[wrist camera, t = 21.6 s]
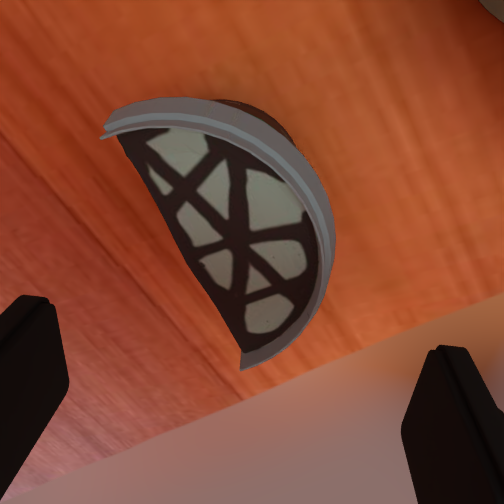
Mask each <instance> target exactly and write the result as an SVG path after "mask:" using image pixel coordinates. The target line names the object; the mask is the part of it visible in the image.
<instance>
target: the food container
mask: <svg viewBox="0 0 504 504" xmlns="http://www.w3.org/2000/svg"><path fill="white" fill-rule="evenodd" d="M103 127H104V128H105V130H106V131H107V132H106V133H105V134H104V135H102V136H101V137H100V139H101V140H102V139H105V138H108V137H111V136H114V135H116V136H117V138H118V140H119V142H120V144H121V145H122V147H123V149H124V151H125V154H126V156H127V157H128V158H129V159H130V161H131V162H132V163H133V165H134V166H135V168H136V169H137V171H138V173H139V174H140V176H141V178H142V179H143V181H144V183H145V185H146V186H147V188H148V190H149V192H150V193H151V195H152V197H153V199H154V201H155V202H156V204H157V206H158V208H159V210H160V212H161V214H162V216H163V218H164V219H165V221H166V223H167V225H168V227H169V230H170V232H171V234H172V236H173V238H174V240H175V242H176V244H177V246H178V248H179V250H180V251H181V253H182V255H183V257H184V259H185V261H186V263H187V265H188V266H189V268H190V269H191V271H192V272H193V274H194V275H195V277H196V278H197V280H198V281H199V282H200V284H201V285H202V287H203V288H204V289H205V291H206V292H207V294H208V295H209V297H210V298H211V300H212V301H213V303H214V304H215V306H216V307H217V309H218V311H219V312H220V314H221V316H222V317H223V319H224V321H225V323H226V324H227V326H228V328H229V329H230V331H231V333H232V335H233V336H234V338H235V340H236V341H237V343H238V345H239V347H240V348H241V360H240V371H243V370H246V369H249V368H252V367H255V366H257V365H259V364H261V363H263V362H265V361H267V360H269V359H271V358H273V357H274V356H276V355H277V354H279V353H280V352H282V351H283V350H284V349H286V348H287V347H288V346H289V345H290V344H291V343H292V342H293V341H294V340H295V339H296V338H297V337H298V336H299V335H300V334H301V333H302V332H303V330H304V329H305V327H306V326H307V325H308V323H309V322H310V321H311V319H312V318H313V316H314V315H315V314H316V312H317V310H318V308H319V306H320V304H321V302H322V300H323V298H324V295H325V292H326V288H327V285H328V281H329V277H330V273H331V270H332V266H333V262H334V256H335V243H336V235H335V225H334V217H333V213H332V210H331V206H330V203H329V199H328V196H327V194H326V192H325V190H324V188H323V186H322V184H321V182H320V180H319V178H318V175H317V174H316V173H315V171H314V170H313V168H312V167H311V166H310V164H309V163H308V161H307V160H306V159H305V157H304V156H303V155H302V154H301V153H300V152H299V151H298V150H297V148H296V146H295V144H294V142H293V140H292V139H291V137H290V136H289V134H288V133H287V132H286V130H285V129H284V128H283V127H282V126H281V125H280V124H279V123H278V122H277V121H276V120H275V119H274V118H272V117H271V116H269V115H268V114H267V113H265V112H264V111H262V110H260V109H258V108H255V107H253V106H251V105H248V104H245V103H242V102H238V101H231V100H203V99H196V98H189V97H163V98H155V99H150V100H145V101H139V102H134V103H132V104H129V105H127V106H124V107H121V108H119V109H116V110H114V111H113V112H112V114H111V115H110V117H109V118H108V119H107V121H106V122H105V124H104V125H103Z"/></svg>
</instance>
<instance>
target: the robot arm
mask: <svg viewBox="0 0 504 504" xmlns="http://www.w3.org/2000/svg"><path fill="white" fill-rule="evenodd" d="M68 388H69V376H68V371H67V365H66V360H65V355H64V350H63V344H62V339H61V334H60V329H59V323H58V318H57V313H56V308H55V306H54V305H53V304H50V302H49V300H48V299H47V298H45V297H39V296H30V295H21V296H19V297H18V298H17V299H16V300H15V301H14V302H13V303H12V304H11V305H10V306H9V307H8V308H7V309H6V310H5V311H4V312H3V313H2V314H1V315H0V500H1V498H2V497H3V495H4V494H5V492H6V490H7V489H8V487H9V486H10V484H11V482H12V481H13V479H14V478H15V476H16V474H17V473H18V471H19V469H20V468H21V466H22V465H23V463H24V461H25V460H26V458H27V457H28V455H29V453H30V452H31V450H32V449H33V447H34V445H35V444H36V442H37V440H38V439H39V437H40V436H41V434H42V432H43V431H44V429H45V428H46V426H47V424H48V423H49V421H50V420H51V418H52V416H53V415H54V413H55V411H56V410H57V408H58V407H59V405H60V403H61V402H62V400H63V399H64V397H65V395H66V393H67V391H68ZM401 437H402V442H403V446H404V450H405V454H406V458H407V462H408V465H409V470H410V474H411V477H412V482H413V485H414V489H415V493H416V497H417V501H418V504H504V413H503V412H502V411H501V410H500V409H498V408H497V406H496V404H495V402H494V400H493V398H492V396H491V394H490V392H489V390H488V389H487V387H486V385H485V383H484V381H483V379H482V377H481V375H480V373H479V371H478V369H477V367H476V366H475V364H474V362H473V360H472V358H471V356H470V354H469V352H468V351H467V349H466V348H464V347H456V346H448V345H439V346H438V347H437V348H436V350H430V351H429V352H428V354H427V357H426V360H425V362H424V365H423V368H422V371H421V373H420V376H419V378H418V381H417V384H416V387H415V389H414V392H413V395H412V397H411V400H410V403H409V405H408V408H407V411H406V414H405V416H404V419H403V422H402V425H401Z"/></svg>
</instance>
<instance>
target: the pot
mask: <svg viewBox="0 0 504 504" xmlns="http://www.w3.org/2000/svg"><path fill="white" fill-rule="evenodd" d="M478 1H479V2H480V3H481V4H482V5H483V6H484V7H485V8H486V9H487V10H488V11H489V12H490V13H491V14H493V15H494V16H495V17H496V18H498V20H500V21H502V22H503V23H504V0H478Z"/></svg>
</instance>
